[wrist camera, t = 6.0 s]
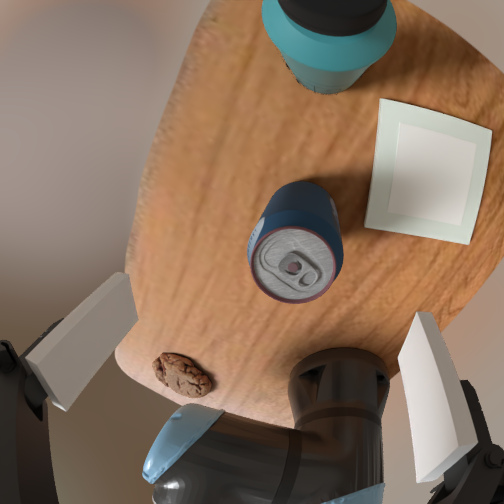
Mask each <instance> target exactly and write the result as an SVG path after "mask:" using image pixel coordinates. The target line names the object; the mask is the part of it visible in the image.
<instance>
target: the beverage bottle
mask: <svg viewBox="0 0 504 504" xmlns="http://www.w3.org/2000/svg"><path fill="white" fill-rule="evenodd" d="M262 19H263V23H264V26H265V29H266V31H267V33H268V35H269V37H270V38H271V40H272V41H273V43H274V44H275V46H277V47H278V48H279V50H280V52H281V54H282V56H283V57H284V59H285V61H286V62H287V64H288V65H289V67H290V69H291V70H292V72H293V73H294V75H295V76H296V79H295V80H297V79H298V80H297V82H298V83H299V84H300V83H301V84H302V85H303V86H304V87H306V89H307V88H308V89H310V90H312V91H314V92H317V93H321V94H332V95H333V94H335V93H337V94H338V93H339V92H342V91H344V90H346V89H347V88H349V87H350V86H351V85H352V84H353V83H354V82H355V81H356V80H357V79H358V78H361V75H363V72H365V71H366V70H367V68H368V67H369V66H370V65H371V64H373V63H375V62H376V61H378V60H379V59H380V58H381V57H382V56H384V55H385V53H386V52H387V51H388V50H389V48H390V47H391V45H392V43H393V41H394V38H395V35H396V28H397V22H396V15H395V11H394V8H393V6H392V3H391V2H390V0H263V4H262ZM282 60H283V59H282ZM286 62H285V63H286ZM287 64H286V65H287ZM288 65H287V67H288ZM289 67H288V68H289ZM290 69H289V70H290ZM291 74H292V73H291ZM337 94H336V95H337Z"/></svg>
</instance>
